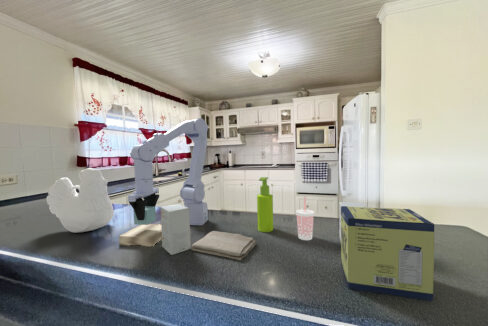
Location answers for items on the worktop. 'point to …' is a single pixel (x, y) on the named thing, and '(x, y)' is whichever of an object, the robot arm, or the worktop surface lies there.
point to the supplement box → (349, 206)
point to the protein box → (387, 251)
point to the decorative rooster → (81, 202)
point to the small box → (175, 228)
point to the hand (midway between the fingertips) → (145, 217)
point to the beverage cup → (305, 222)
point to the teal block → (146, 216)
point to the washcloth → (225, 245)
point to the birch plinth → (142, 235)
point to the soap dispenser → (265, 207)
